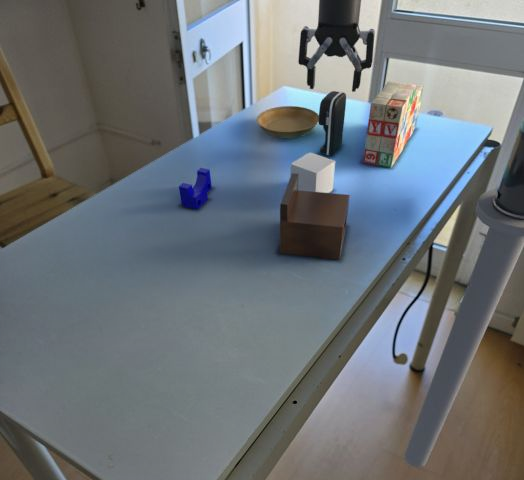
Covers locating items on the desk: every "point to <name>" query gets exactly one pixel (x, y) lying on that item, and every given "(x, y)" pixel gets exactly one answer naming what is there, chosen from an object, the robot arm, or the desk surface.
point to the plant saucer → (288, 121)
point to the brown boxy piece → (312, 222)
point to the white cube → (314, 173)
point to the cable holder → (196, 190)
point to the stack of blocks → (391, 122)
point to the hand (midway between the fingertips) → (333, 89)
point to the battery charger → (332, 120)
